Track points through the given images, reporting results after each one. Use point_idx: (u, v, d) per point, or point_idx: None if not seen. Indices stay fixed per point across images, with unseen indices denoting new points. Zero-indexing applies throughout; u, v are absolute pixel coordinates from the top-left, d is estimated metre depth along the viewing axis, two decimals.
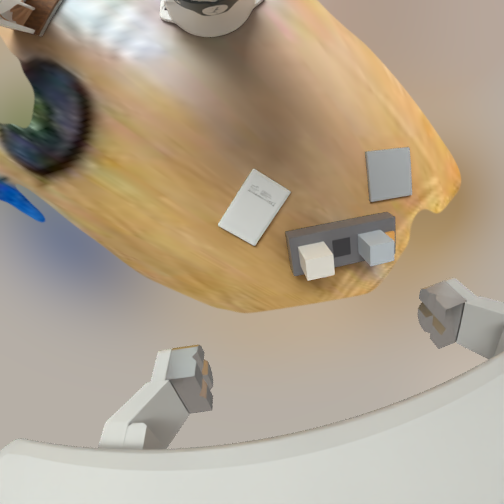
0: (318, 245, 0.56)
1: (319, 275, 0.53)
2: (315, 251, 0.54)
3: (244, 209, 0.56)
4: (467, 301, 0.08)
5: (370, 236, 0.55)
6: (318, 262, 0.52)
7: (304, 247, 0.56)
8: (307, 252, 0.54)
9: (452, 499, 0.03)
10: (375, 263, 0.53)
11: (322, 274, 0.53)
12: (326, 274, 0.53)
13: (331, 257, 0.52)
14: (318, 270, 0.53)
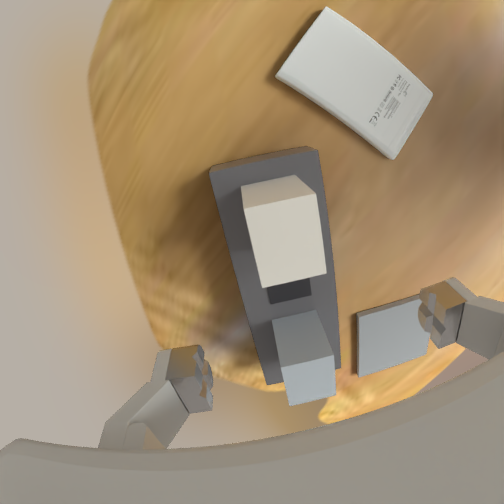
0: None
1: (261, 243, 0.17)
2: None
3: (363, 61, 0.21)
4: (467, 301, 0.08)
5: None
6: (306, 234, 0.17)
7: None
8: None
9: (452, 499, 0.03)
10: (287, 375, 0.22)
11: (264, 252, 0.18)
12: (264, 264, 0.18)
13: (318, 270, 0.18)
14: (281, 239, 0.17)
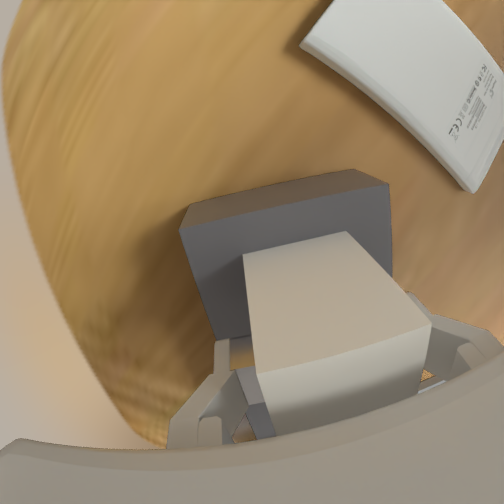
0: None
1: (295, 424, 0.07)
2: None
3: (440, 35, 0.10)
4: None
5: None
6: (390, 397, 0.07)
7: None
8: None
9: (452, 499, 0.03)
10: None
11: None
12: None
13: None
14: (338, 412, 0.07)
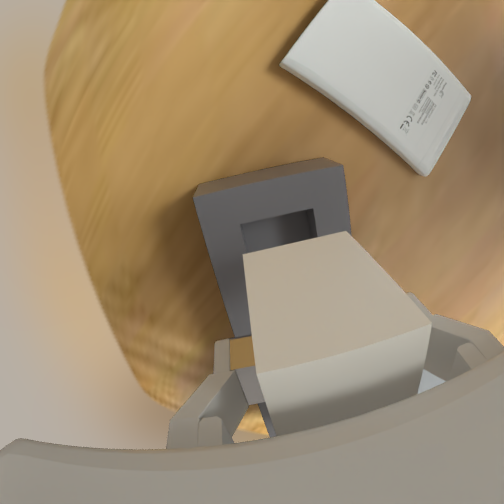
0: None
1: (295, 424, 0.07)
2: None
3: (393, 49, 0.15)
4: None
5: None
6: (390, 397, 0.07)
7: None
8: None
9: (452, 499, 0.03)
10: None
11: None
12: None
13: None
14: (338, 412, 0.07)
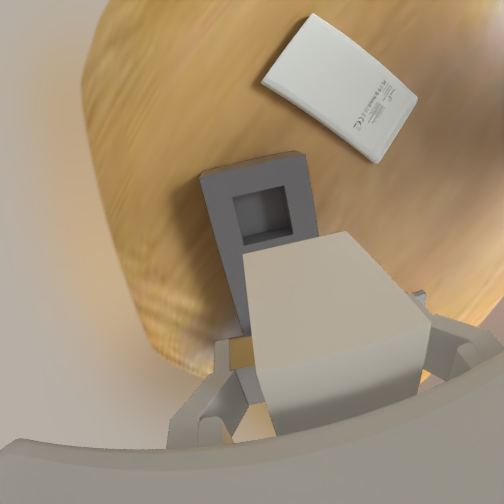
0: None
1: (295, 423, 0.07)
2: None
3: (348, 66, 0.22)
4: None
5: None
6: (389, 397, 0.07)
7: None
8: None
9: (452, 499, 0.03)
10: None
11: None
12: None
13: None
14: (338, 411, 0.07)
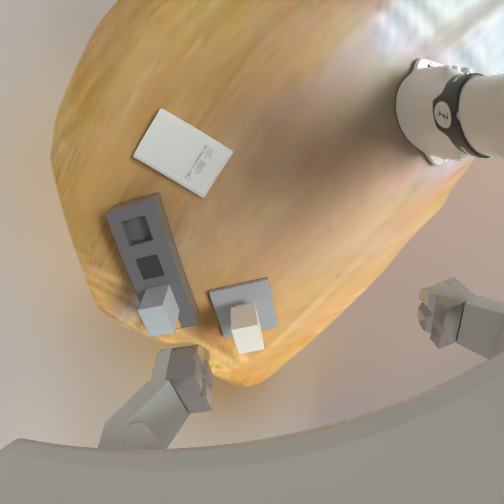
0: (259, 324, 0.50)
1: (238, 340, 0.46)
2: (259, 327, 0.48)
3: (181, 141, 0.41)
4: (467, 301, 0.08)
5: (171, 301, 0.45)
6: (254, 337, 0.45)
7: (256, 310, 0.50)
8: (257, 319, 0.48)
9: (452, 498, 0.03)
10: (142, 315, 0.42)
11: (239, 343, 0.46)
12: (239, 346, 0.46)
13: (260, 347, 0.46)
14: (245, 338, 0.45)
